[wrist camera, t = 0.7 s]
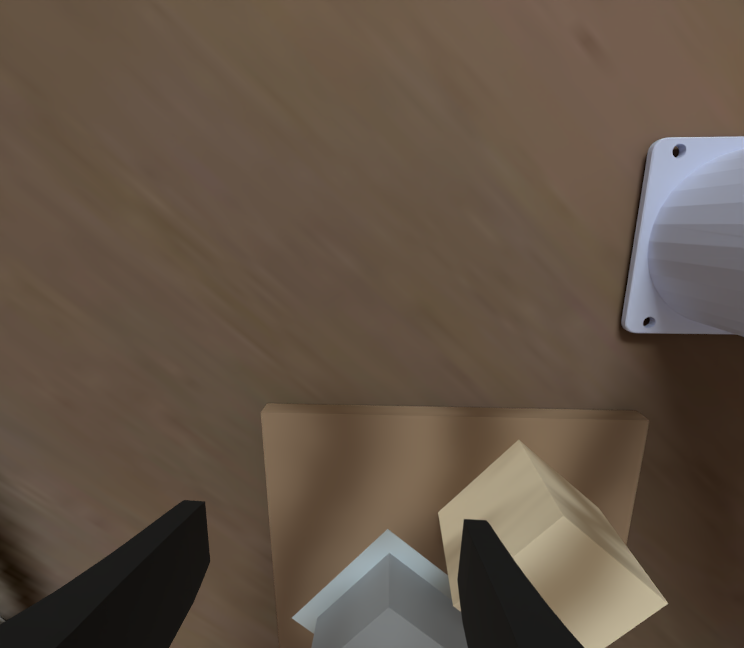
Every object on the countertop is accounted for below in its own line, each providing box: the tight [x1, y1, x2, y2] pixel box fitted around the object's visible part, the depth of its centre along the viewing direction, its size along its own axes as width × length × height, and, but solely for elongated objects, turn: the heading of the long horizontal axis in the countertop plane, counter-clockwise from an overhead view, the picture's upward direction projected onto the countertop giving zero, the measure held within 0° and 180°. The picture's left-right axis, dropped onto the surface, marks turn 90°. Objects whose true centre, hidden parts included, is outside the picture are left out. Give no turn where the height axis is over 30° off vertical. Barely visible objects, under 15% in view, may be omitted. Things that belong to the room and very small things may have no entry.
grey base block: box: [311, 553, 468, 648], centre depth 20 cm, size 6×6×3 cm
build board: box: [261, 403, 649, 648], centre depth 21 cm, size 18×18×1 cm
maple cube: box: [438, 440, 668, 648], centre depth 17 cm, size 6×6×5 cm
